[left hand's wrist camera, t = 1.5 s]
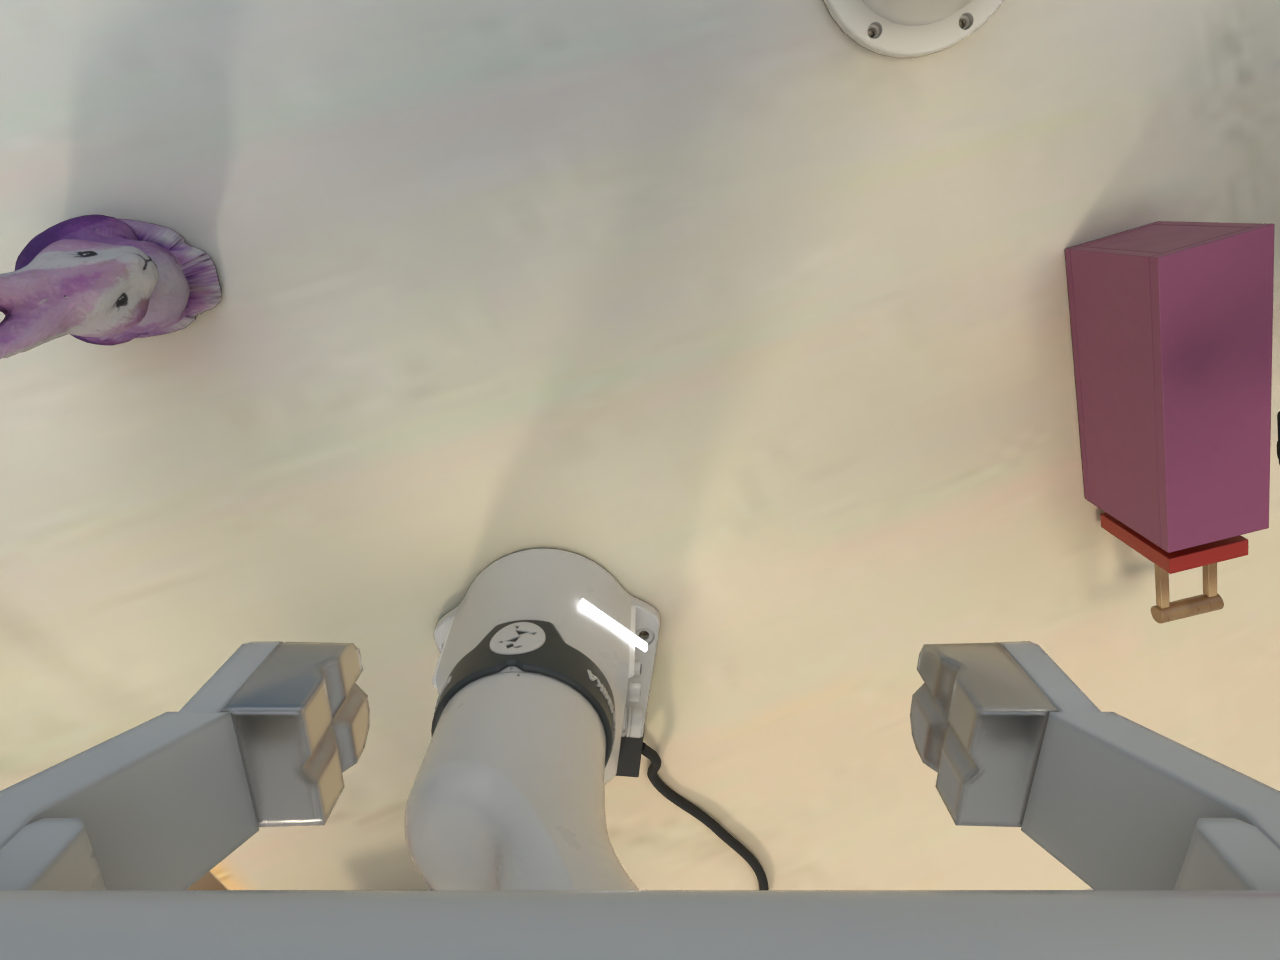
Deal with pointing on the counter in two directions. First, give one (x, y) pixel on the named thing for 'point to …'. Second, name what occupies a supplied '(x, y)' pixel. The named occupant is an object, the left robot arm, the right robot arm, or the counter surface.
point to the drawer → (1180, 569)
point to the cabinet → (1175, 377)
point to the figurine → (104, 284)
